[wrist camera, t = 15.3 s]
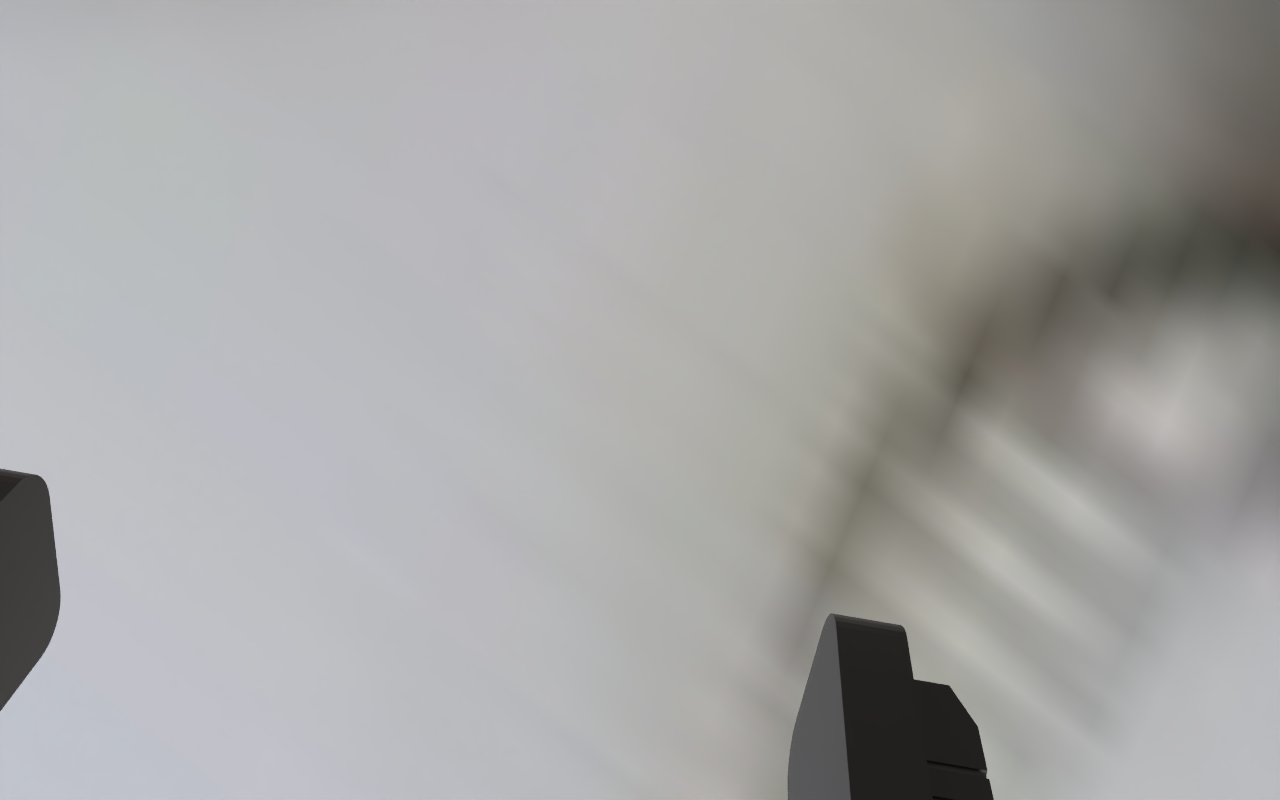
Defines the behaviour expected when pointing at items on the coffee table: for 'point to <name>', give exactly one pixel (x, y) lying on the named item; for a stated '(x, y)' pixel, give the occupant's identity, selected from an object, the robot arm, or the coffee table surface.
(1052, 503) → the coffee table surface
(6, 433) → the coffee table surface
